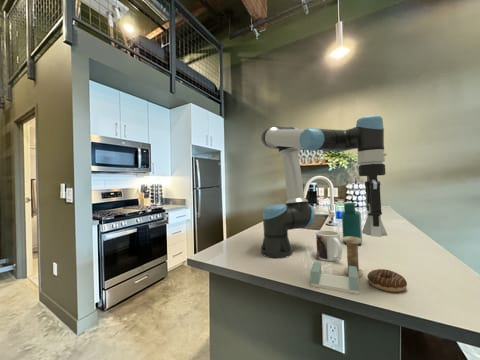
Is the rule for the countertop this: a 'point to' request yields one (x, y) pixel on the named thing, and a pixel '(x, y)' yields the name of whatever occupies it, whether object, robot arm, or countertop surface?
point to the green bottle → (351, 222)
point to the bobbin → (352, 253)
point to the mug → (328, 245)
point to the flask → (368, 228)
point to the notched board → (335, 280)
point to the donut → (387, 280)
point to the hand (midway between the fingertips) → (374, 233)
